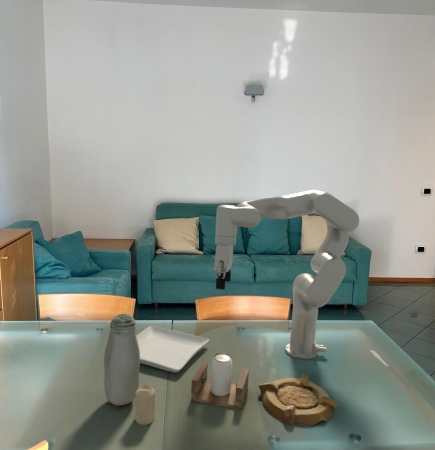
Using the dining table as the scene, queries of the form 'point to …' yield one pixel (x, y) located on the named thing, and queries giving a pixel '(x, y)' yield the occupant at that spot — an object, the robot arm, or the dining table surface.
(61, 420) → the dining table surface
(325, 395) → the ashtray
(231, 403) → the holder
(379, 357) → the butter knife
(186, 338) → the square plate
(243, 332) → the dining table surface
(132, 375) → the gray bottle
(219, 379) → the can
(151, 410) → the candle
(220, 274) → the robot arm
